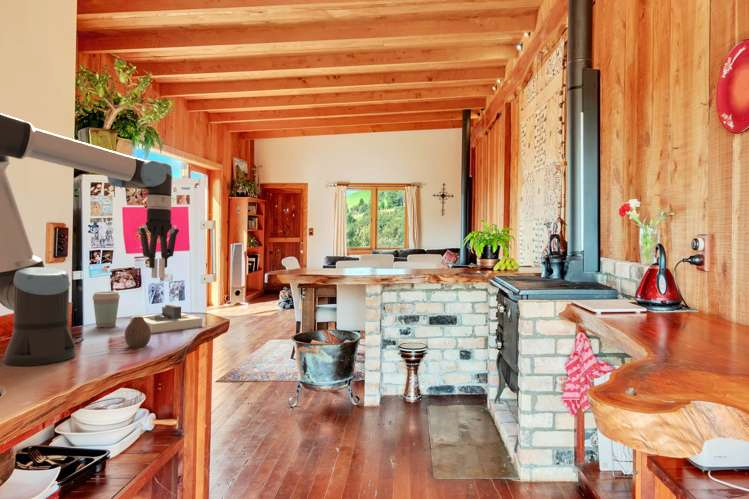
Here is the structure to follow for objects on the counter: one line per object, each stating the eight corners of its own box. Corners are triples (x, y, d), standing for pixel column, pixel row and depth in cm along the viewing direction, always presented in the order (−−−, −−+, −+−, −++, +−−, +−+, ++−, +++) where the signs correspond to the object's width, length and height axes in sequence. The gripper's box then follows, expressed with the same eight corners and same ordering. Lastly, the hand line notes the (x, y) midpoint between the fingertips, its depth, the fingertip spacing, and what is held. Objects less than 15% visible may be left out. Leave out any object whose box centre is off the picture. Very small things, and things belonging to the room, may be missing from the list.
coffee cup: (124, 324, 168) (125, 291, 168) (109, 329, 159) (109, 294, 159) (102, 323, 169) (103, 290, 168) (86, 328, 160) (86, 293, 160)
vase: (146, 342, 142) (146, 314, 141) (154, 347, 137) (154, 317, 136) (121, 346, 137) (121, 316, 137) (128, 350, 132) (129, 320, 132)
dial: (150, 320, 168) (150, 303, 168) (172, 318, 174) (172, 301, 174) (166, 325, 160) (166, 307, 159) (188, 322, 166) (188, 305, 165)
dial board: (151, 333, 156) (152, 323, 155) (130, 325, 167) (130, 316, 167) (202, 326, 169) (202, 317, 169) (178, 319, 181) (178, 311, 181)
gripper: (141, 206, 149) (140, 279, 150) (185, 209, 161) (184, 277, 161) (131, 207, 154) (130, 277, 155) (175, 210, 166) (174, 275, 166)
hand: (158, 277), depth 158 cm, fingers open, 2 cm apart
